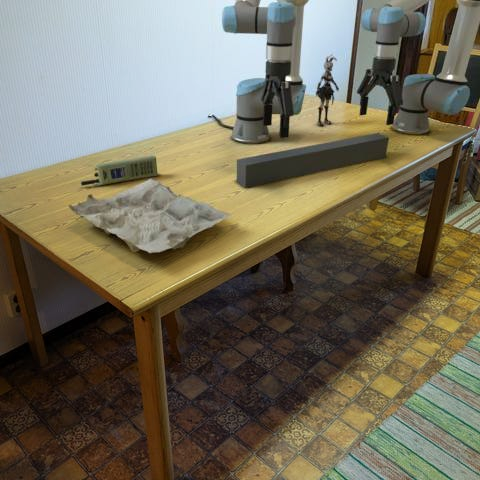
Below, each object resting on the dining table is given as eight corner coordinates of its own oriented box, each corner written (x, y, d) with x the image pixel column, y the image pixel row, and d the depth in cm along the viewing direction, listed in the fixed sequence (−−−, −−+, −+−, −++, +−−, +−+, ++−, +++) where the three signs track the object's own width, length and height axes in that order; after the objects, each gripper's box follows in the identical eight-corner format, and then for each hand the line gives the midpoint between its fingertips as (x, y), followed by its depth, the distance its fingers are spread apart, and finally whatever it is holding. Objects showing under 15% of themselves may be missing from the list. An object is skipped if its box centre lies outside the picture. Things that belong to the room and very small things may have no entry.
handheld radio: (158, 176, 170) (83, 189, 160) (155, 173, 172) (80, 186, 162) (156, 157, 167) (79, 169, 157) (153, 154, 169) (77, 166, 159)
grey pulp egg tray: (148, 192, 160) (63, 221, 139) (147, 174, 157) (60, 201, 136) (236, 233, 139) (152, 274, 118) (238, 213, 136) (151, 251, 115)
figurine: (317, 128, 219) (323, 55, 204) (306, 125, 223) (312, 53, 208) (338, 122, 227) (346, 52, 213) (327, 119, 231) (334, 50, 217)
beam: (245, 187, 163) (245, 165, 159) (236, 181, 167) (236, 159, 164) (385, 157, 189) (389, 137, 185) (374, 152, 194) (377, 132, 190)
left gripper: (308, 67, 139) (303, 142, 150) (274, 53, 160) (271, 119, 170) (283, 68, 137) (279, 144, 147) (252, 54, 158) (250, 121, 168)
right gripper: (421, 62, 163) (409, 127, 173) (367, 51, 182) (360, 110, 192) (404, 64, 160) (393, 130, 170) (351, 52, 178) (344, 112, 189)
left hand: (275, 131), depth 159 cm, fingers open, 13 cm apart
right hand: (375, 119), depth 181 cm, fingers open, 13 cm apart
